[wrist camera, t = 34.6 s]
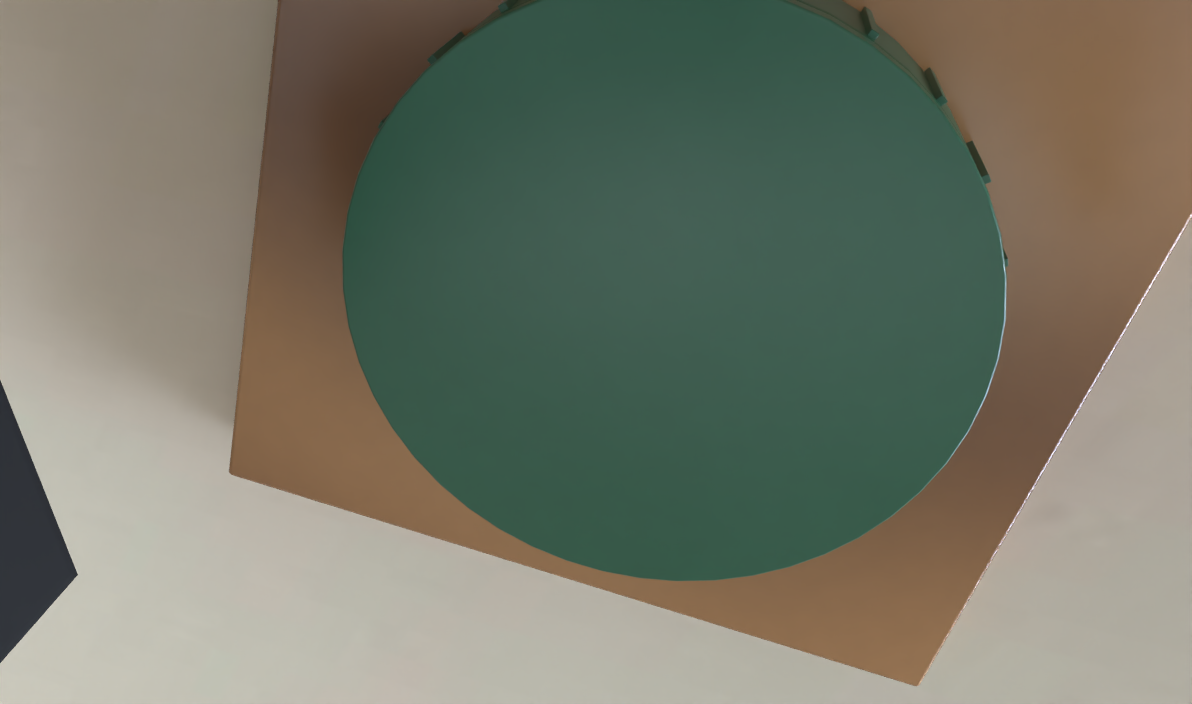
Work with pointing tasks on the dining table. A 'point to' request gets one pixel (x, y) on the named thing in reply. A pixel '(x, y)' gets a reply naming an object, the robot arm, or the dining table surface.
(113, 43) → the dining table surface
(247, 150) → the dining table surface
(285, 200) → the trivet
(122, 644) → the dining table surface
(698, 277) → the jar lid
